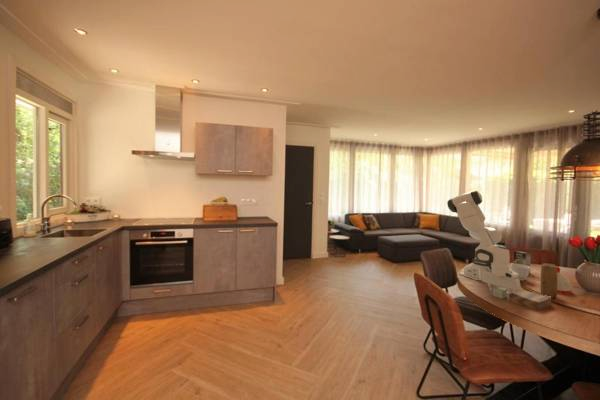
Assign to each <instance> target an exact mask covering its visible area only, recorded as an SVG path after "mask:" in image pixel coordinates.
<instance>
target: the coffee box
mask: <svg viewBox="0 0 600 400" xmlns="http://www.w3.org/2000/svg"><path fill="white" fill-rule="evenodd" d="M531 257H532V253H531V252H526V251H521V250H515V251H513V263H514V264H522V265H526V266H529V267H531V263H532V262H531V259H532V258H531ZM530 273H531V268H530V269H529V274H530Z"/></svg>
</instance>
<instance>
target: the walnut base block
mask: <svg viewBox="0 0 600 400" xmlns="http://www.w3.org/2000/svg"><path fill="white" fill-rule="evenodd" d="M509 302H510V303H514V304H518V305H520V306H523V307H527V308H530V309H532V310H536V311H541V310H544V309H546V308H549V307H551V306H552V298H550V297H546V296H543V295H541V294H538V293H536V292H531V291H528V290H525V289H520V290H518V291H514V292H511V294H510V296H509Z"/></svg>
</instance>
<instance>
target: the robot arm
mask: <svg viewBox="0 0 600 400" xmlns="http://www.w3.org/2000/svg"><path fill="white" fill-rule="evenodd" d="M482 202H483V196H482V195H481V193H480V192H479V191H478V190H471V191H468V192H464V193H462V194H459V195H457V196H455V197H453V198H450V199H448V200H447V202H446V203H447V208H448V210H449V211H450V212H452V213H456V214H457V216H458V218H459V219H458V220H459V222H460V223H461V225H462V227H463V228H464V229H465V230H466V231H468V234H469V236H470V237H472V238H473V239H475V240H478V241H480V242H479V245H478V246H477V247H476V248H475V252H474V258H472V259H471V263H469V264H468V265H465V266H464V268H463V270H462V271H460V273H459V275H461V276H463V277H466V278H470V279H472V280H475V281H482V282H484V283H485V284H487V286H488V288H489V291H490V292H493V288H494V287H492V285H493V286H495V287H500V288H504V289H508V291H506V297H510V294H511V293H513V291H514V292H517V291H520V290H521V280H519V278H517V277H519V274H518V273H516V272H514V271H512V269H511V268H510V264H509V263H510V259H511V258H510V257H511V256H510V250H509V248H508V247H507V246H505V245H502V244H498V243H499V242H501V240H502V239H503V234H502V232H501V231H500V230H498V229H496V228H494V227H488V226H486V224H485V221H486V217H485V215H484V213H483V211H482V210H481V207H480V204H482Z"/></svg>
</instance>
